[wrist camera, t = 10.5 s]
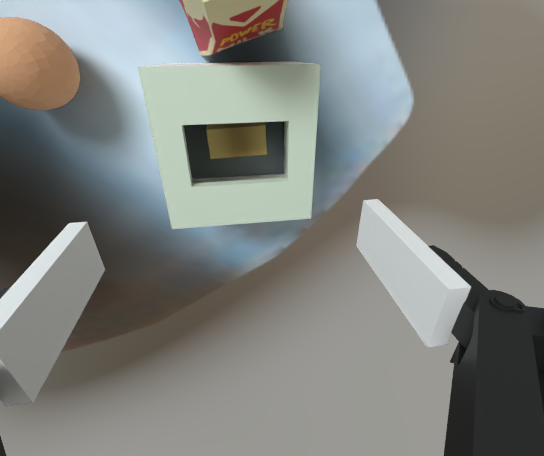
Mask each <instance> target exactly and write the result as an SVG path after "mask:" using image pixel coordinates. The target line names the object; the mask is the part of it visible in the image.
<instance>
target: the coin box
mask: <svg viewBox="0 0 544 456" xmlns="http://www.w3.org/2000/svg"><path fill="white" fill-rule="evenodd" d="M320 67H321V64H314V63H304V62H232V63H170V64H158V65H151V66H144V67H138V70H139V75H140V79H141V84H142V89H143V94H144V98H145V103H146V108H147V113H148V117H149V122H150V127H151V132H152V137H153V141H154V146H155V151H156V156H157V160H158V165H159V170H160V175H161V179H162V184H163V189H164V194H165V198H166V203H167V208H168V213H169V217H170V222H171V227H172V229H181V228H194V227H207V226H220V225H233V224H247V223H260V222H273V221H286V220H299V219H311V212H312V196H313V180H314V164H315V148H316V132H317V116H318V100H319V83H320ZM277 121H284V174H268V175H251V176H234V177H216V178H199V179H192V176H191V170H190V164H189V157H188V151H187V144H186V138H185V131H184V125H199V124H225V123H251V122H277Z"/></svg>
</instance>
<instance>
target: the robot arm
mask: <svg viewBox="0 0 544 456" xmlns="http://www.w3.org/2000/svg"><path fill="white" fill-rule="evenodd" d="M356 246H357V247H358V249H359V250H360V252H361V253H362V254H363V256H364V257H365V259H366V260H367V262H368V263H369V265H370V266H371V267H372V269H373V270H374V272H375V273H376V275H377V276H378V278H379V279H380V280H381V282H382V283H383V285H384V286H385V287H386V289H387V290H388V292H389V293H390V295H391V296H392V297H393V299H394V301H395V302H396V303H397V305H398V306H399V308H400V309H401V311H402V312H403V314H404V315H405V316H406V318H407V319H408V321H409V322H410V323H411V325H412V326H413V328H414V329H415V331H416V332H417V334H418V335H419V336H420V338H421V339H422V341H423V342H424V344H425V345H426V347H434V346H441V345H447V343H448V341H449V338H450V336H451V334H453V335H454V336H455V337H456V339H457V340H458V341H459V343H458V345H457V347H456V349H455V352H454V354H453V356H452V358H451V360H450V362H451V363H454V370H453V379H452V389H451V397H450V406H449V415H448V423H447V432H446V440H445V450H444V456H544V308H537V307H528V306H525V305H524V304H523V303H522V302H521V301H520V300H518V299H517V298H515V297H513V296H512V295H509V294H507V293H504V292H501V291H496V290H488V289H487V288H486V287H485V286H484V285H483V284H481V283H480V282H479V281H478V280H477V279H476V278H475V277H474V276H472V275H471V274H470V273H469V272H468V271H467V270H466V269H464V268H462V266H461V265H460V264H459V263H458V262H456V261H455V260H454V259H453V258H452V257H451V256H450V255H449V254H448V253H446V252H445V251H443V250H441V249H439V248H437V247H435V246H427V245H426V244H425V243H424V242H423V241H422V240H421V239H420V238H418V236H416V235H415V234H414V233H413V232H412V231H411V230H410V229H409V228H408V227H407V226H406V225H405V224H404V223H403V222H402V221H401V220H399V219H398V218H397V217H396V216H395V215H394V214H393V213H392V212H391V211H390V210H389V209H388V208H387V207H386V206H385V205H383V204H382V203H381V202H380V201H379V200H378V199H375V200H364V201H363V207H362V214H361V219H360V226H359V233H358V239H357V245H356ZM104 271H105V268H104V265H103V263H102V260H101V257H100V255H99V252H98V250H97V247H96V244H95V242H94V239H93V236H92V234H91V231H90V228H89V226H88V223H87V222H77V223H69V224H68V225H67V226H66V227H65V228H64V229H63V230H62V231H61V232H60V234H59V235H58V236H57V237H56V238H55V239H54V240H53V241H52V242H51V243H50V245H49V246H48V247H47V248H46V249H45V250H44V251H43V252H42V253H41V255H40V256H39V257H38V258H37V259H36V260H35V261H34V262H33V263H32V264H31V266H30V267H29V268H28V269H27V270H26V271H25V272H24V273H23V274H22V275H21V277H20V278H19V279H18V280H17V281H16V282H15V283H14V284H13V285H12V287H11V288H5V289H3V290H2V291H0V400H1V401H2V402H3V404H4V405H5V406H13V405H21V404H28V403H33V402H34V400H35V398H36V396H37V394H38V393H39V391H40V389H41V387H42V385H43V383H44V381H45V380H46V378H47V376H48V374H49V372H50V370H51V369H52V367H53V365H54V363H55V361H56V359H57V358H58V356H59V354H60V352H61V350H62V348H63V347H64V345H65V343H66V341H67V339H68V337H69V336H70V334H71V332H72V330H73V328H74V326H75V324H76V323H77V321H78V319H79V317H80V315H81V313H82V312H83V310H84V308H85V306H86V304H87V302H88V301H89V299H90V297H91V295H92V293H93V291H94V290H95V288H96V286H97V284H98V282H99V280H100V278H101V277H102V275H103V273H104ZM0 456H6V453H5V450H4V447H3V443H2V440H1V437H0Z"/></svg>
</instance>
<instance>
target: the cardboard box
mask: <svg viewBox="0 0 544 456" xmlns="http://www.w3.org/2000/svg"><path fill="white" fill-rule="evenodd" d="M206 132H207V139H208V145H209V152H210V159H217V158H229V157H241V156H254V155H266V154H267V146H266V126H265V124H264V122H251V123H225V124H208V125H207V129H206Z"/></svg>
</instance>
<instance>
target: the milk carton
mask: <svg viewBox="0 0 544 456" xmlns="http://www.w3.org/2000/svg"><path fill="white" fill-rule="evenodd" d="M179 1H180V3H181V5H182V7H183V10H184V12H185V14H186V16H187V19H188V21H189V24H190V27H191V29H192V32H193V35H194V38H195V41H196V43H197V46H198V49H199V52H200V54H201V56H203V55H212V54H214V53H217V52H220V51H222V50H225V49H228V48H230V47H233V46H236V45H238V44H241V43H244V42H247V41H249V40H252V39H255V38H258V37H260V36H263V35H266V34H269V33H271V32H274V31H277V30H280V29H282V28H283V21H284V15H285V10H286V6H287V1H288V0H179Z"/></svg>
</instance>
